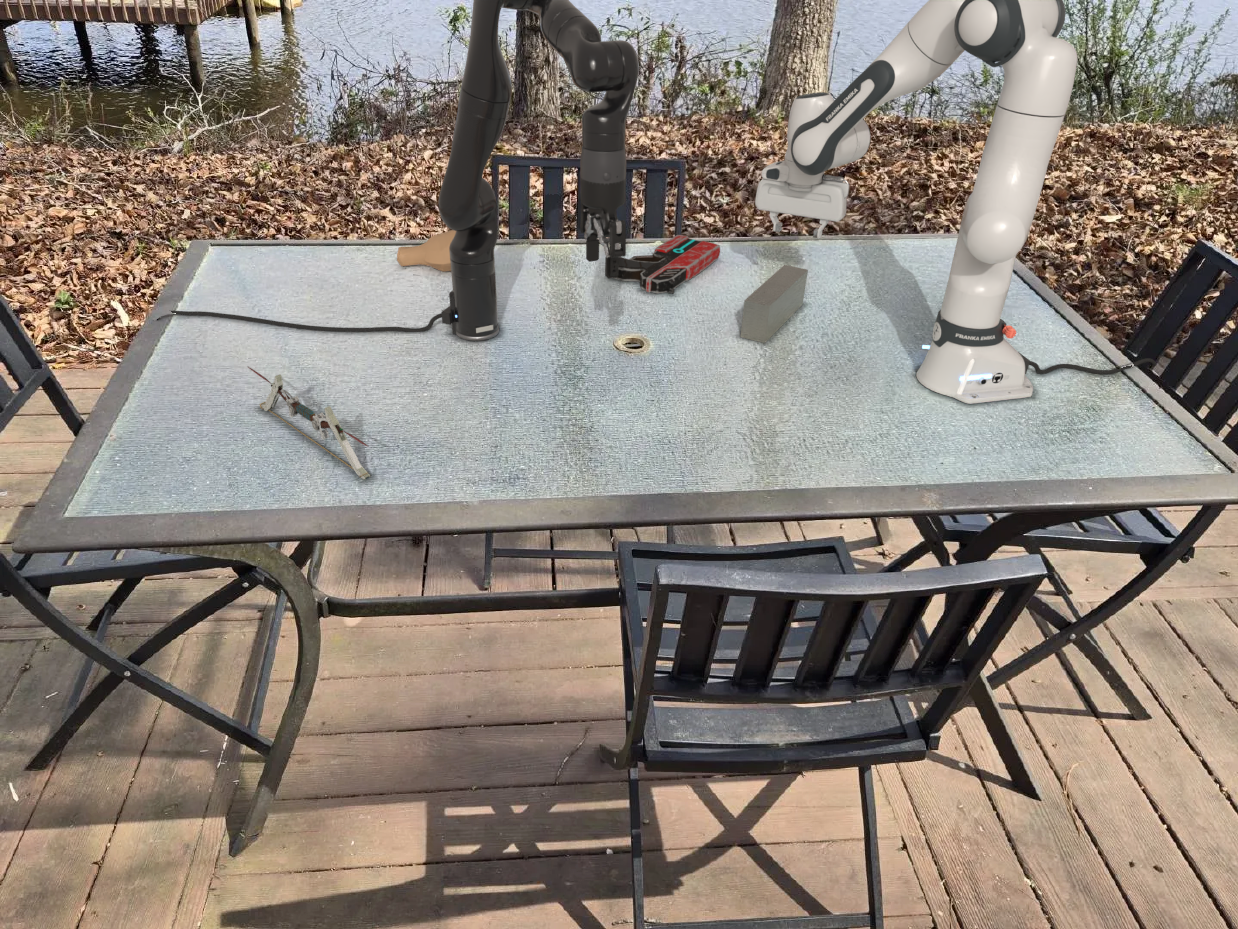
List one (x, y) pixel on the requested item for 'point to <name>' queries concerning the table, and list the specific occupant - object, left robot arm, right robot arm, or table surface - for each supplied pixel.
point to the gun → (669, 264)
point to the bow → (314, 422)
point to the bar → (773, 303)
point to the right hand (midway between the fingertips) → (797, 234)
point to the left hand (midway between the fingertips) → (601, 268)
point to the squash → (429, 252)
